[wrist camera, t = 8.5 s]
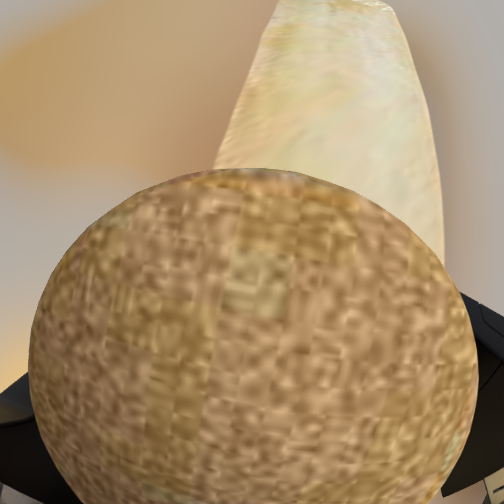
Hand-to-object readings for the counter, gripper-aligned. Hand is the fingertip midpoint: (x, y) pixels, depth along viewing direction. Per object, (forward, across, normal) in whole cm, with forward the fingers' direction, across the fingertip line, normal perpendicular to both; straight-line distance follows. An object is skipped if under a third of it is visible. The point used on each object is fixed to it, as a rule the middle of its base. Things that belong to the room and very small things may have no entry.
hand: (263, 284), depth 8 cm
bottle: (+5, 0, +8) cm, 9 cm away
